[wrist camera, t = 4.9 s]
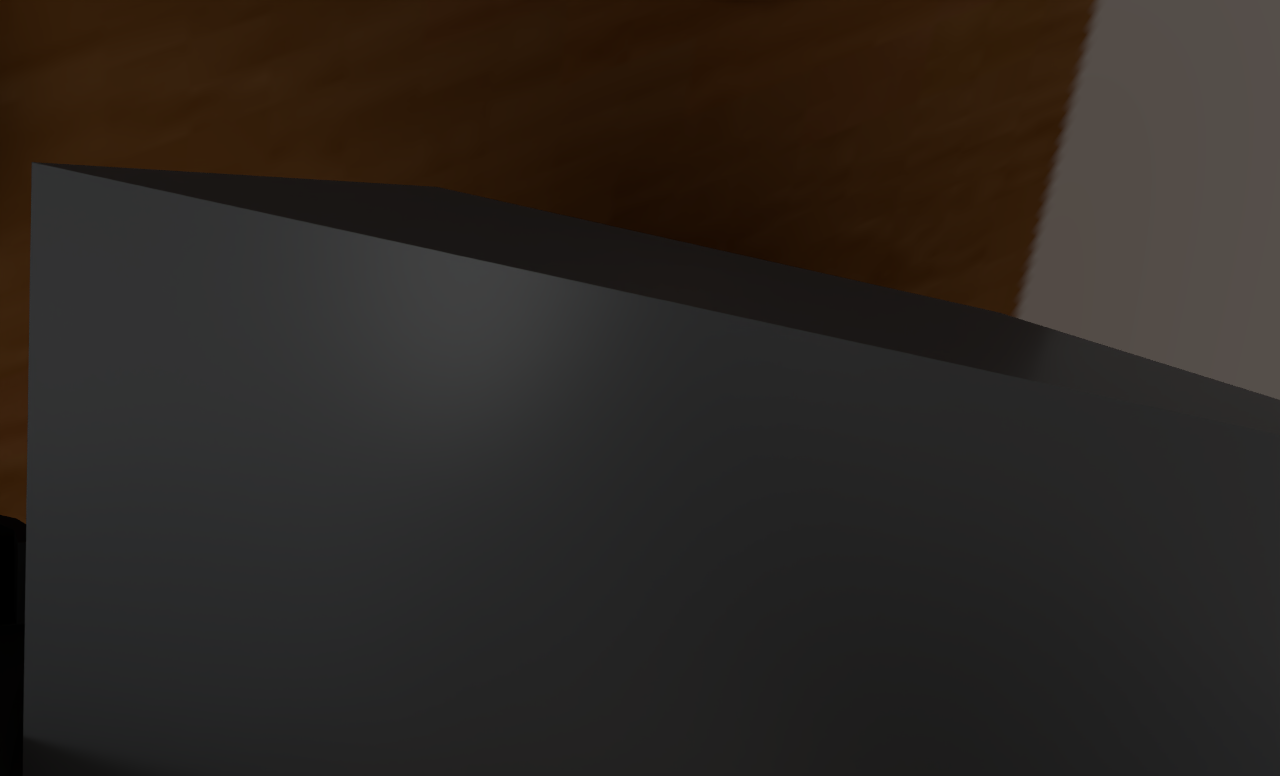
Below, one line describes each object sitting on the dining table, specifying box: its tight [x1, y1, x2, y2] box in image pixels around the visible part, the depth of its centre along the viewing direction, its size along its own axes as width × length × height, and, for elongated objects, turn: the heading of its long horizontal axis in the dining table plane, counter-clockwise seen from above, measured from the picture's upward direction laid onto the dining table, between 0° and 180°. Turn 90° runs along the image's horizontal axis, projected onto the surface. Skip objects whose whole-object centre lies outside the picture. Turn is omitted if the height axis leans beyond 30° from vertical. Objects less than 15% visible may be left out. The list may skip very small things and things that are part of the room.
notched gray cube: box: [23, 162, 1280, 776], centre depth 10 cm, size 10×10×9 cm
